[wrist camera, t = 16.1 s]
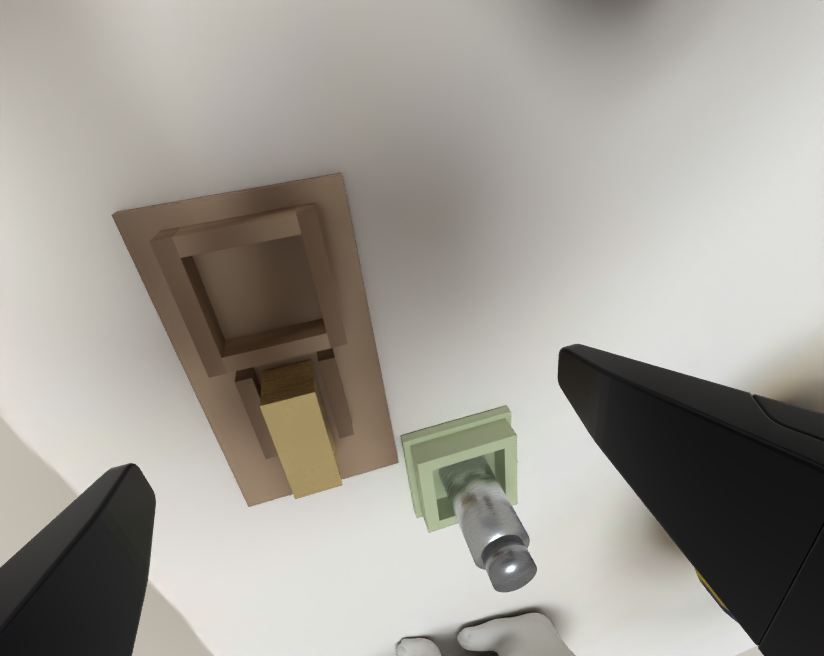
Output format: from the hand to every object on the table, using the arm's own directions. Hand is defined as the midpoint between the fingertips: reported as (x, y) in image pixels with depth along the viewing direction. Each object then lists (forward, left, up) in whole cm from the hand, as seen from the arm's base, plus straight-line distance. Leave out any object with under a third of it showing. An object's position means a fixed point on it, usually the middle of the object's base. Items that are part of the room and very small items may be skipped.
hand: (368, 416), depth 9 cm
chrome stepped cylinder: (-6, +16, -12) cm, 21 cm away
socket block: (+3, +5, -13) cm, 14 cm away
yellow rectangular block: (+3, +8, -12) cm, 15 cm away
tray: (-6, +16, -12) cm, 21 cm away
